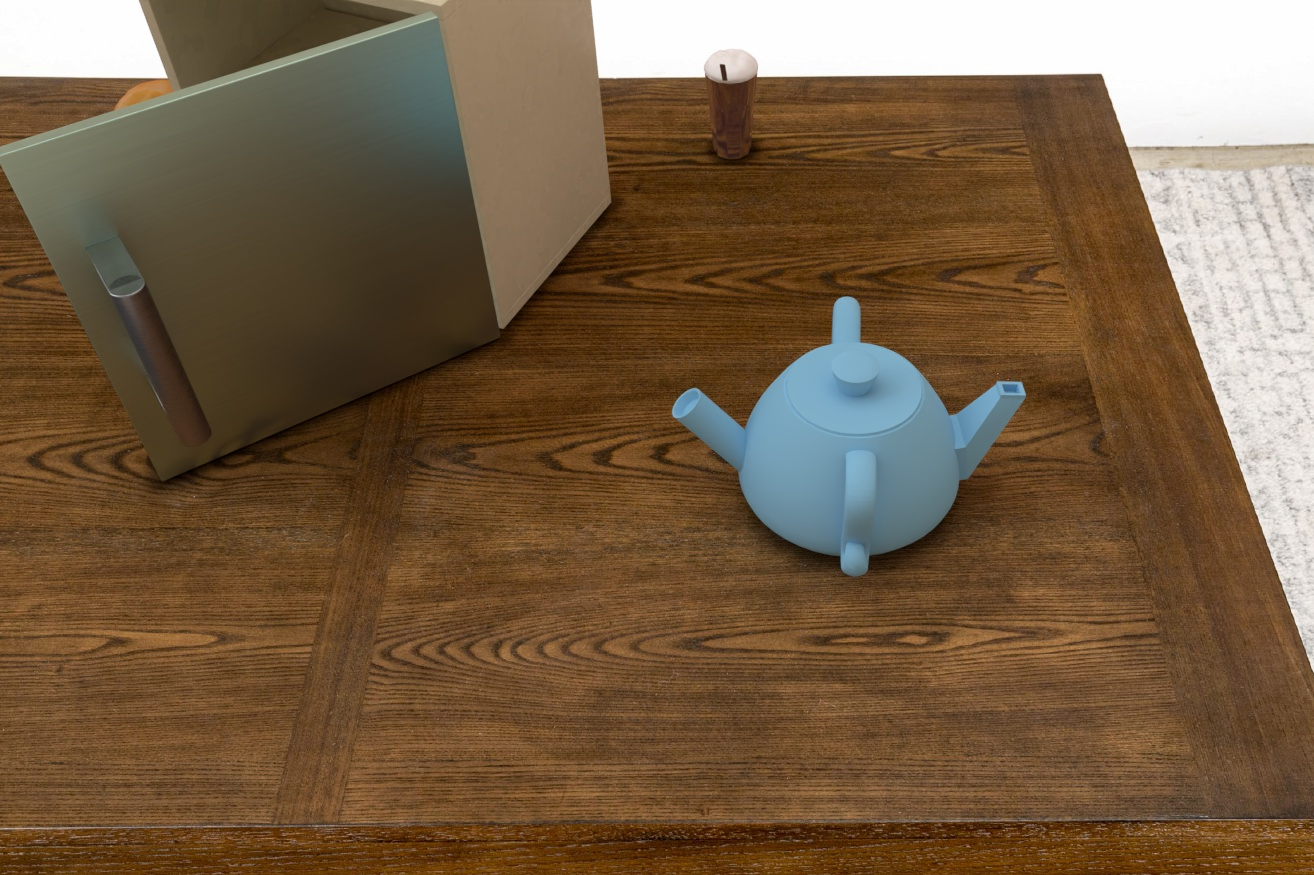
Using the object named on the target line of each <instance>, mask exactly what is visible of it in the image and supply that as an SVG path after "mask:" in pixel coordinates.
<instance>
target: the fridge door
mask: <svg viewBox="0 0 1314 875" xmlns="http://www.w3.org/2000/svg"><path fill="white" fill-rule="evenodd" d="M0 167H1V169H2V170H3V172H4V175H5V177H6V178H7V180H8V183H9V184H10V187H11V189H12V190H13V192H14V194H15V196H16V198H17V200H18V202H19V204H20V206H21V208H22V210H23V212H24V215H25V216H26V218H27V220H28V222H29V224H30V226H31V228H32V230H33V232H34V234H35V235H36V238H37V239H38V241H39V244H40V245H41V247H42V249H43V251H44V253H45V255H46V257H47V260H48V261H49V263H50V265H51V267H52V269H53V271H54V273H55V275H56V277H57V278H58V281H59V284H60V285H61V286H62V289H63V291H64V292H65V295H66V297H67V298H68V300H69V302H70V305H71V306H72V308H73V311H74V312H75V315H76V316H77V318H78V320H79V322H80V324H81V325H82V328H83V330H84V332H85V334H86V336H87V338H88V340H89V342H90V344H91V346H92V347H93V349H94V351H95V353H96V355H97V357H98V360H99V362H100V364H101V365H102V368H103V370H104V371H105V373H106V376H107V378H108V380H109V382H110V383H111V385H112V387H113V389H114V392H115V393H116V395H117V397H118V399H119V400H120V402H121V405H122V407H123V410H124V411H125V413H126V415H127V416H128V418H129V421H130V423H131V424H132V426H133V428H134V431H135V432H136V434H137V437H138V438H139V440H140V443H141V444H142V446H143V448H144V450H145V452H146V454H147V456H148V457H149V459H150V460H149V461H150V462H151V464H152V466H153V467H154V470H155V472H156V473H157V476H158V477H159V479H160V481H161V482H165V481H167V480H169V479H173V478H174V477H178V476H179V475H181V474H184V473H186V472H189V471H191V470H194V469H195V468H198V467H200V466H203V465H205V464H207V463H209V462H213V461H215V460H217V459H219V458H221V457H224V456H226V455H228V454H230V453H233V452H235V451H238V450H241V449H242V448H245V447H247V446H249V445H252V444H254V443H257V442H259V441H261V440H263V439H266V438H269V437H270V436H272V435H275V434H277V433H280V432H282V431H285V430H287V429H290V428H292V427H294V426H296V425H298V424H299V425H300V424H301V423H304V422H305V421H308V420H310V419H313V418H316V417H317V416H319V415H322V414H324V413H327V412H329V411H332V410H334V409H336V408H338V407H342V406H343V405H345V404H349V403H350V402H352V401H355V400H357V399H359V398H362V397H364V396H367V395H369V394H372V393H373V392H376V391H378V390H381V389H383V388H385V387H387V386H391V385H392V384H395V383H397V382H399V381H402V380H403V379H404V380H405V379H406V378H408V377H411V376H414V375H416V374H418V373H421V372H423V371H425V370H427V369H430V368H432V367H434V366H437V365H439V364H441V363H443V362H446V361H449V360H451V359H453V358H456V357H458V356H460V355H463V354H465V353H468V352H469V351H472V350H474V349H476V348H480V347H481V346H484V345H487V344H488V343H491V342H494V341H495V340H498V339H500V338H501V337H502V336H501V331H500V328H499V326H498V321H497V316H496V310H495V305H494V300H493V295H492V290H491V285H490V280H489V275H488V270H487V265H486V259H485V254H484V249H483V244H482V239H481V234H480V229H479V224H478V219H477V214H476V208H475V203H474V198H473V193H472V188H471V183H470V178H469V173H468V168H467V163H466V157H465V152H464V147H463V142H462V137H461V132H460V127H459V122H458V117H457V112H456V106H455V101H454V96H453V91H452V86H451V81H450V76H449V71H448V66H447V60H446V55H445V50H444V45H443V40H442V35H441V30H440V25H439V20H438V17H437V16H436V15H435V14H434V13H433V12H432V11H429V12H426V13H423V14H420V15H417V16H413V17H410V18H407V19H404V20H401V21H398V22H394V23H391V24H388V25H385V26H382V27H379V28H375V29H372V30H369V31H366V32H363V33H359V34H356V35H353V36H350V37H347V38H344V39H340V40H337V41H334V42H331V43H328V44H324V45H321V46H318V47H315V48H312V49H309V50H305V51H302V52H299V53H296V54H293V55H289V56H286V57H283V58H280V59H277V60H274V61H270V62H267V63H264V64H261V65H258V66H254V67H251V68H248V69H245V70H242V71H239V72H235V73H232V74H229V75H226V76H223V77H219V78H216V79H213V80H210V81H207V82H204V83H200V84H197V85H194V86H191V87H188V88H185V89H181V90H178V91H175V92H172V93H169V94H165V95H162V96H159V97H156V98H153V99H150V100H146V101H143V102H140V103H137V104H134V105H130V106H127V107H124V108H121V109H118V110H115V111H114V110H112V111H109V112H108V111H107V112H105V113H102V114H99V115H96V116H92V117H90V118H85V119H83V120H80V121H76V122H73V123H70V124H67V125H64V126H61V127H58V128H55V129H51V130H48V131H45V132H41V133H39V134H35V135H32V136H29V137H26V138H23V139H19V140H16V141H12V142H10V143H7V144H4V145H0Z"/></svg>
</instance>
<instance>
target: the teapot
mask: <svg viewBox="0 0 1314 875" xmlns="http://www.w3.org/2000/svg"><path fill="white" fill-rule="evenodd" d="M861 318H862V316H861V305H860V303H859V302H858V300H857V299H856V298H854V297H852V296H842V297H839V298H838V299H836V301H835V302H834V305H833V308H832V322H831V342H830V344H826V345H822V346H820V347H817V348H813V349H812V350H810V351H808V352H806V353H805V354H803V355H802V356H800V357H799V358H797V359H796V360H795V361H793V362H792V363H791V364H789V365H788V366H787V367H786V368H785V370H783V371H782V372H781V373H780V374H779V375H778V376H777V377H776V379H774V380H773V382H771V383H770V385H769V386H768V387H767V388H766V390H764V392H763V393H762V395H761V396H760V398H759V399H758V401H757V402H756V404H755V405H754V408H753V409H752V411H751V413H750V415H749V417H748V418H747V422H746V425H745V427H742V426H741V425H740V424H739V423H738V422H737V421H735V419H733V418H732V417H731V416H730V415H729V414H727V412H726V411H724V410H723V409H722V408H721V407H719V405H717V404H716V403H715V402H714V401H713V400H712V399H711V398H709V397H708V396H707V395H706V394H705V393H704V392H702V391H701V390H700V389H699V388H697V387H693V388H690V389H687V390H686V391H685V392H683V393H681V395H680V396H679V397H678V398H677V399H676V401H675V402H674V404H673V406H672V410H671V414H672V415H671V416H672V417H673V418H674V419H675V420H676V421H678V422H679V423H680V424H682V425H683V427H685V428H686V429H687V430H689V431H690V432H691V433H692V434H693V435H694V436H696V437H697V438H698V439H699V440H701V441H702V442H703V443H704V444H706V445H707V447H708V448H710V449H711V450H713V451H714V452H715V453H716V454H717V455H718V456H720V457H721V458H722V459H723V460H724V461H725V462H727V463H728V464H729V465H730V466H732V467H733V468H734V469H735V470H737V471H738V480H739V481H738V482H739V484H740V487H741V492H742V493H743V495H744V498H745V500H746V502H747V504H748V506H749V508H751V510H752V511H753V513H754V515H756V517H757V518H758V519H759V520H760V521H761V522H762V523H763V524H764V526H766V527H767V528H769V529H770V530H771V531H772V532H773V533H775V534H776V535H778V536H779V537H781V538H783V539H785V540H786V541H787V542H790V543H792V544H794V545H796V546H798V547H801V548H803V549H806V550H809V551H811V552H813V553H814V552H815V553H819V554H823V555H828V556H835V557H840V568H841V571H842V572H843V573H844V574H845V575H847V576H849V577H854V578H857V577H861V576H864V575H865V574H866V573H868V569H869V562H870V556H876V555H881V554H887V553H889V552H892V551H897V550H898V549H902V548H904V547H906V546H909V545H912V544H913V543H915V542H917V541H918V540H921V539H922V538H923V537H925V536H926V535H927V534H929V533H931V531H933V530H934V529H935V528H936V527H937V526H938V525H939V524H940V523H941V522H942V521H943V519H944V518H945V517H946V516H947V514H948V513H949V511H950V510H951V509H952V506H953V504H954V502H955V501H956V497H957V495H958V491H959V485H960V481H964V480H969V479H970V477H971V476H972V474H973V473H974V471H975V470H976V468H977V467H978V466H979V464H980V463H981V461H982V460H983V459H984V457H985V456H986V455H987V453H988V451H990V449H991V448H992V446H993V445H994V443H995V442H996V441H997V439H998V438H999V436H1000V435H1001V433H1002V432H1003V430H1004V429H1005V428H1006V426H1007V425H1008V424H1009V422H1010V421H1011V419H1012V418H1013V417H1014V415H1015V414H1016V412H1017V411H1018V409H1019V408H1020V406H1022V404H1023V402H1024V401H1025V399H1026V397H1027V393H1026V391H1025V388H1024V385H1023V382H1022V381H1005V380H1004V381H1002V380H1001V381H1000V380H999V381H998V380H996V383H995V384H994V385H993V386H992V387H991V388H988V390H987V391H985V392H983V393H982V394H981V395H979V397H977V398H976V399H975V400H973V401H972V402H970V403H969V404H968V405H967V406H965V407H964V408H962V409H961V410H959V412H957V413H956V414H950V415H949V412H948V410H947V408H946V406H945V405H944V403H943V401H942V400H941V398H940V397H939V395H938V394H937V392H936V391H935V389H934V387H933V386H932V385H931V384H930V382H929V381H928V380H927V379H926V377H925V376H924V375H923V374H922V373H921V371H920V370H919V369H917V367H916V366H915V365H913V363H912V362H910V361H909V360H908V359H907V358H905V357H904V356H902V355H901V354H899V353H898V352H896V351H894V350H891V349H889V348H886V347H884V346H880V345H877V344H872V343H866V342H861V328H862V327H861V326H862V325H861V323H862V322H861Z"/></svg>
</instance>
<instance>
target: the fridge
mask: <svg viewBox="0 0 1314 875" xmlns="http://www.w3.org/2000/svg"><path fill="white" fill-rule="evenodd" d="M138 2H139V5H140V8H141V11H142V14H143V16H144V19H145V21H146V25H147V27H148V29H149V32H150V35H151V38H152V40H153V42H154V45H155V48H156V51H157V53H158V57H159V58H160V61H161V64H162V66H163V69H164V72H165V74H166V77H167V80H169V83H170V85H171V88H172V91H173V92H175V91H178V90H181V89H185V88H188V87H191V86H194V85H197V84H200V83H204V82H207V81H210V80H213V79H216V78H219V77H223V76H226V75H229V74H232V73H235V72H239V71H242V70H245V69H248V68H251V67H254V66H258V65H261V64H264V63H267V62H270V61H274V60H277V59H280V58H283V57H286V56H289V55H293V54H296V53H299V52H302V51H305V50H309V49H312V48H315V47H318V46H321V45H324V44H328V43H331V42H334V41H337V40H340V39H344V38H347V37H350V36H353V35H356V34H359V33H363V32H366V31H369V30H372V29H375V28H379V27H382V26H385V25H388V24H391V23H394V22H398V21H401V20H404V19H407V18H410V17H413V16H417V15H420V14H423V13H426V12H429V11H432V12H433V13H434V14H435V15H436V16H437V17H438V20H439V25H440V30H441V35H442V40H443V45H444V50H445V55H446V60H447V66H448V71H449V76H450V81H451V86H452V91H453V96H454V101H455V106H456V112H457V117H458V122H459V127H460V132H461V137H462V142H463V147H464V152H465V157H466V163H467V168H468V173H469V178H470V183H471V188H472V193H473V198H474V203H475V208H476V214H477V219H478V224H479V229H480V234H481V239H482V244H483V249H484V254H485V259H486V265H487V270H488V275H489V280H490V285H491V290H492V295H493V300H494V305H495V310H496V316H497V321H498V326H499V329H501V330H503V329H505V328H506V327H507V326H508V324H509V323H510V322H511V321H512V319H514V317H515V316H516V315H517V314H518V313H519V311H520V310H521V309H522V308H523V307H524V306H525V304H526V303H527V302H528V301H529V299H530V298H531V297H532V296H533V295H534V294H535V293H536V291H537V290H538V289H539V288H541V286H542V285H543V283H544V282H545V281H546V280H547V279H548V278H549V276H550V275H551V274H552V273H553V272H554V270H555V269H556V268H557V267H558V265H559V264H560V263H561V262H562V261H563V260H564V259H565V258H566V256H567V255H568V254H569V253H570V252H571V250H572V249H573V248H574V247H575V246H576V244H578V242H579V241H580V240H581V239H582V238H583V236H584V235H585V234H586V233H587V232H588V231H589V229H590V228H591V227H592V226H593V225H594V223H595V222H596V221H597V220H598V218H600V216H601V215H602V214H603V213H604V212H605V211H606V209H607V208H608V207H609V206H610V205H611V203H612V196H611V195H612V194H611V186H610V184H611V183H610V174H609V164H608V156H607V145H606V136H605V124H604V115H603V106H602V95H601V87H600V76H599V66H598V55H597V47H596V36H595V28H594V27H595V26H594V19H593V18H594V17H593V7H592V0H138Z"/></svg>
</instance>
